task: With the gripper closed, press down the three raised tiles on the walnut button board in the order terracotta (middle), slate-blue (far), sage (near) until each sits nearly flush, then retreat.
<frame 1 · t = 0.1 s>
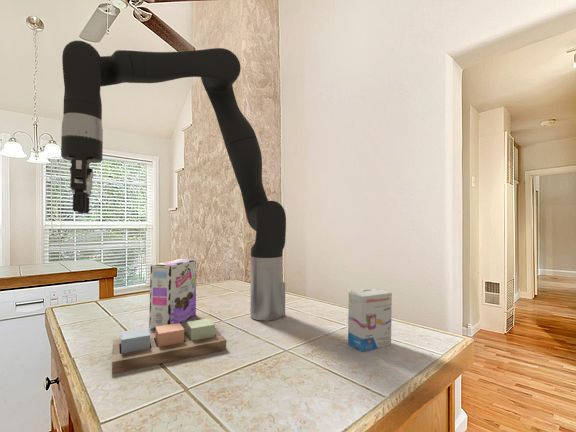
hand: (81, 212, 66), 29 cm above the counter, fingers open, 8 cm apart
terracotta tile: (169, 335, 65), point 3 cm above the counter, slide at 0.0 cm
sage tile: (200, 329, 68), point 3 cm above the counter, slide at 0.0 cm
slate tile: (135, 340, 61), point 3 cm above the counter, slide at 0.0 cm
button board: (169, 349, 65), on the counter
ink box: (370, 345, 67), on the counter
candy box: (174, 322, 83), on the counter
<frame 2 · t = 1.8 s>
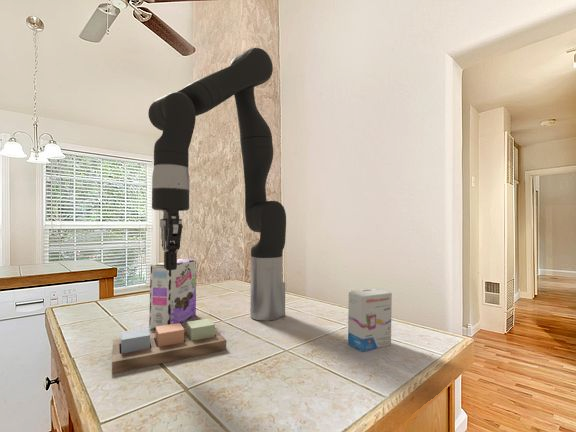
hand: (170, 268, 65), 17 cm above the counter, fingers closed
nothing on the counter moved.
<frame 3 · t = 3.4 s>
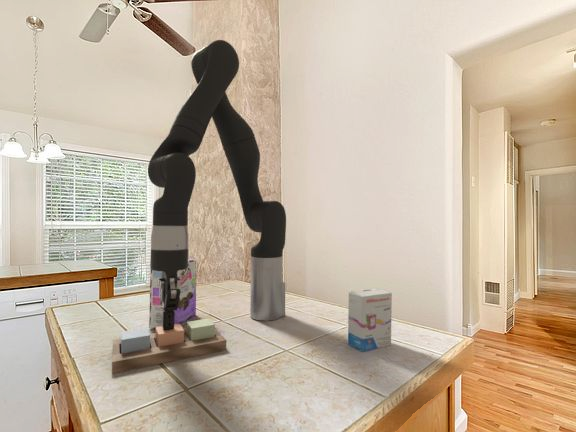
hand: (168, 328, 65), 4 cm above the counter, fingers closed
terracotta tile: (169, 335, 65), point 3 cm above the counter, slide at 0.2 cm, touching gripper
everything else where it was.
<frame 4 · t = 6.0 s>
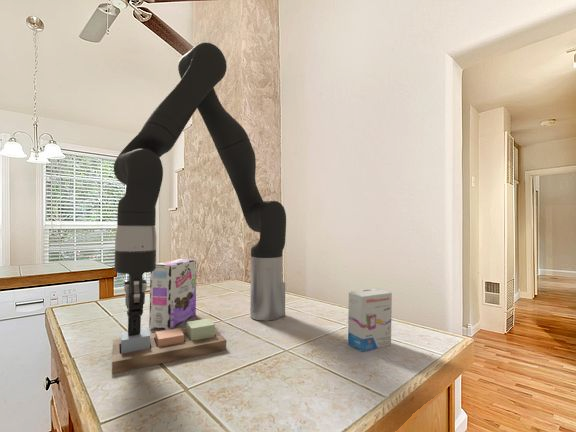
hand: (134, 334, 61), 4 cm above the counter, fingers closed
terracotta tile: (169, 340, 65), point 2 cm above the counter, slide at 1.1 cm
slate tile: (135, 341, 61), point 3 cm above the counter, slide at 0.1 cm, touching gripper
everything else where it was.
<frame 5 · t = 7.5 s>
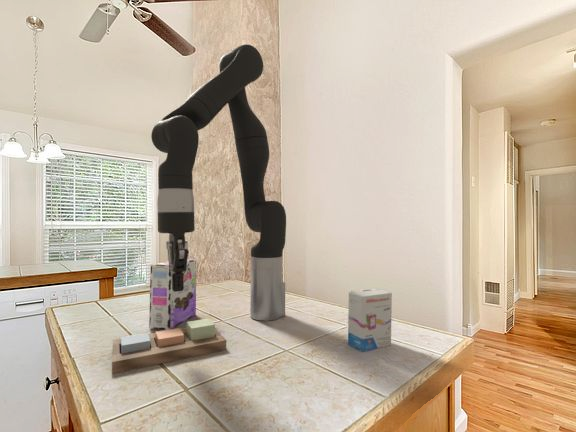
hand: (177, 290, 66), 12 cm above the counter, fingers closed
slate tile: (135, 346, 61), point 2 cm above the counter, slide at 1.1 cm
everything else where it was.
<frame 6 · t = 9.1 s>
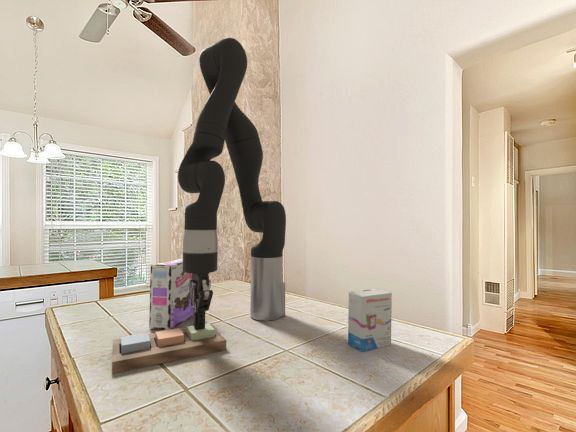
hand: (199, 328, 68), 3 cm above the counter, fingers closed
sage tile: (200, 334, 68), point 2 cm above the counter, slide at 1.1 cm, touching gripper
everything else where it was.
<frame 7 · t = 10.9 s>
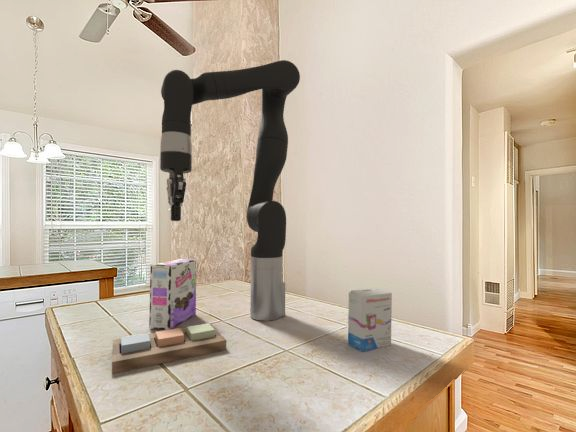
hand: (175, 220, 77), 27 cm above the counter, fingers closed
sage tile: (200, 335, 68), point 2 cm above the counter, slide at 1.1 cm
everything else where it was.
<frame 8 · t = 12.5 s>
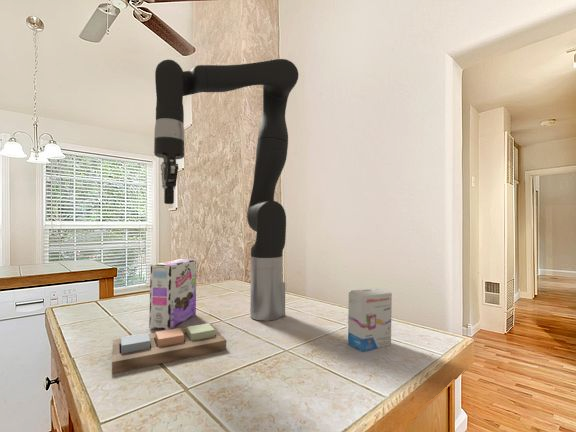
hand: (168, 203, 81), 32 cm above the counter, fingers closed
nothing on the counter moved.
at the end: terracotta tile slide at 1.1 cm; slate tile slide at 1.1 cm; sage tile slide at 1.1 cm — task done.
